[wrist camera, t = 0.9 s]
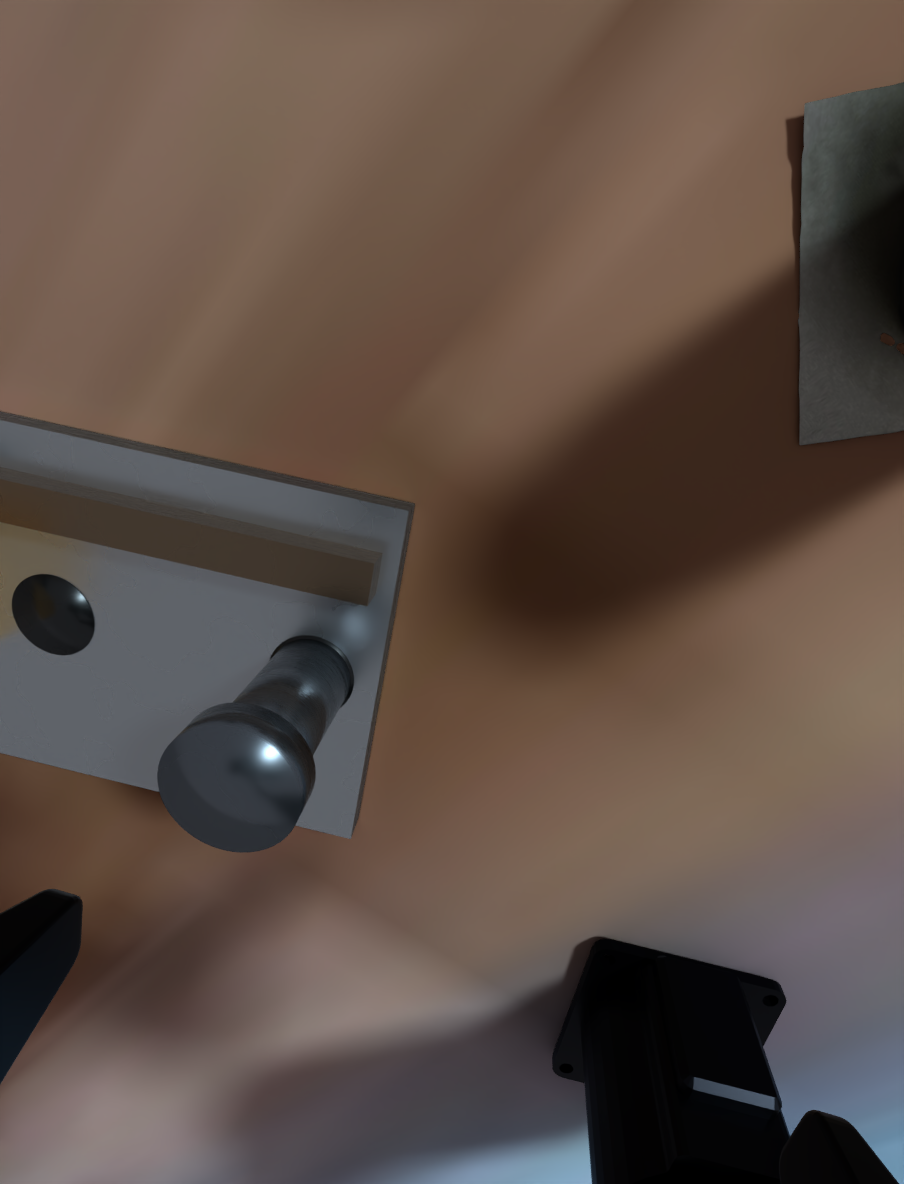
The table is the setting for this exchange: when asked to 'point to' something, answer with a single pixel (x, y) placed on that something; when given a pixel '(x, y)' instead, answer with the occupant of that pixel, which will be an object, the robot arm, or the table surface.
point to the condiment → (852, 266)
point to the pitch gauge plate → (194, 628)
